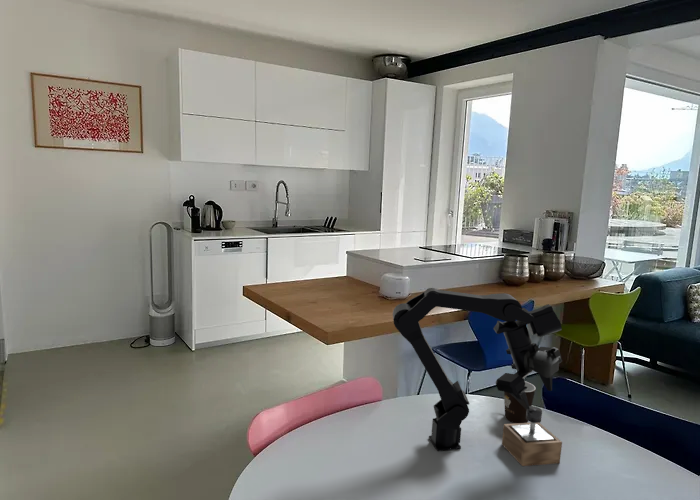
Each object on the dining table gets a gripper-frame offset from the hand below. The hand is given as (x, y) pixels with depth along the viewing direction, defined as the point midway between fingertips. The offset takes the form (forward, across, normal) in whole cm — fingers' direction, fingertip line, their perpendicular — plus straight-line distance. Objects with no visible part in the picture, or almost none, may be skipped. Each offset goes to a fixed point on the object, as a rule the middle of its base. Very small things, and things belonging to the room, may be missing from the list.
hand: (538, 399), depth 125 cm
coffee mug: (+13, +6, +18) cm, 23 cm away
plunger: (+7, -5, +1) cm, 9 cm away
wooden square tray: (+12, -6, +2) cm, 14 cm away
